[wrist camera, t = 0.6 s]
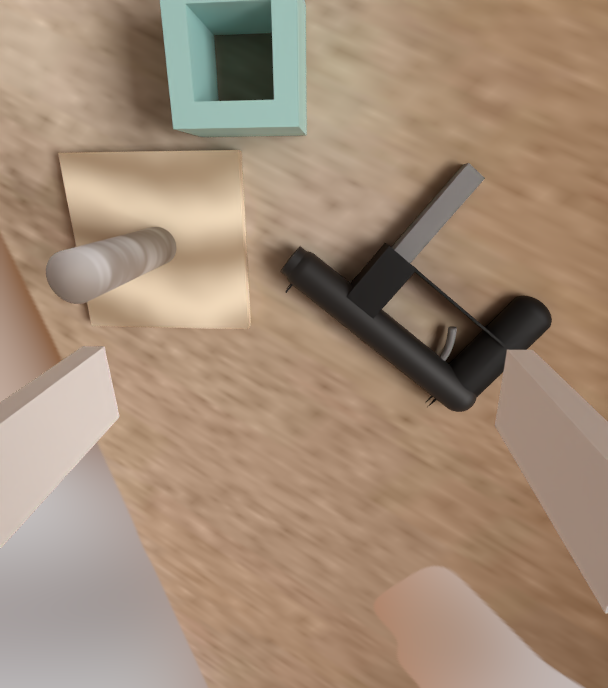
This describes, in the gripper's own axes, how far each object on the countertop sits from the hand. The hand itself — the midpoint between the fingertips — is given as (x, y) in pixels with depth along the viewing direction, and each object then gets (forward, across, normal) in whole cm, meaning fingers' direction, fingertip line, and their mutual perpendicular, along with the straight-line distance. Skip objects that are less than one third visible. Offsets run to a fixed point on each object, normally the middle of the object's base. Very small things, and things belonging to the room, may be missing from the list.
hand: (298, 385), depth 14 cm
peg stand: (+23, -14, +1) cm, 27 cm away
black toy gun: (+24, +8, -2) cm, 25 cm away
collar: (+23, -5, +13) cm, 27 cm away
